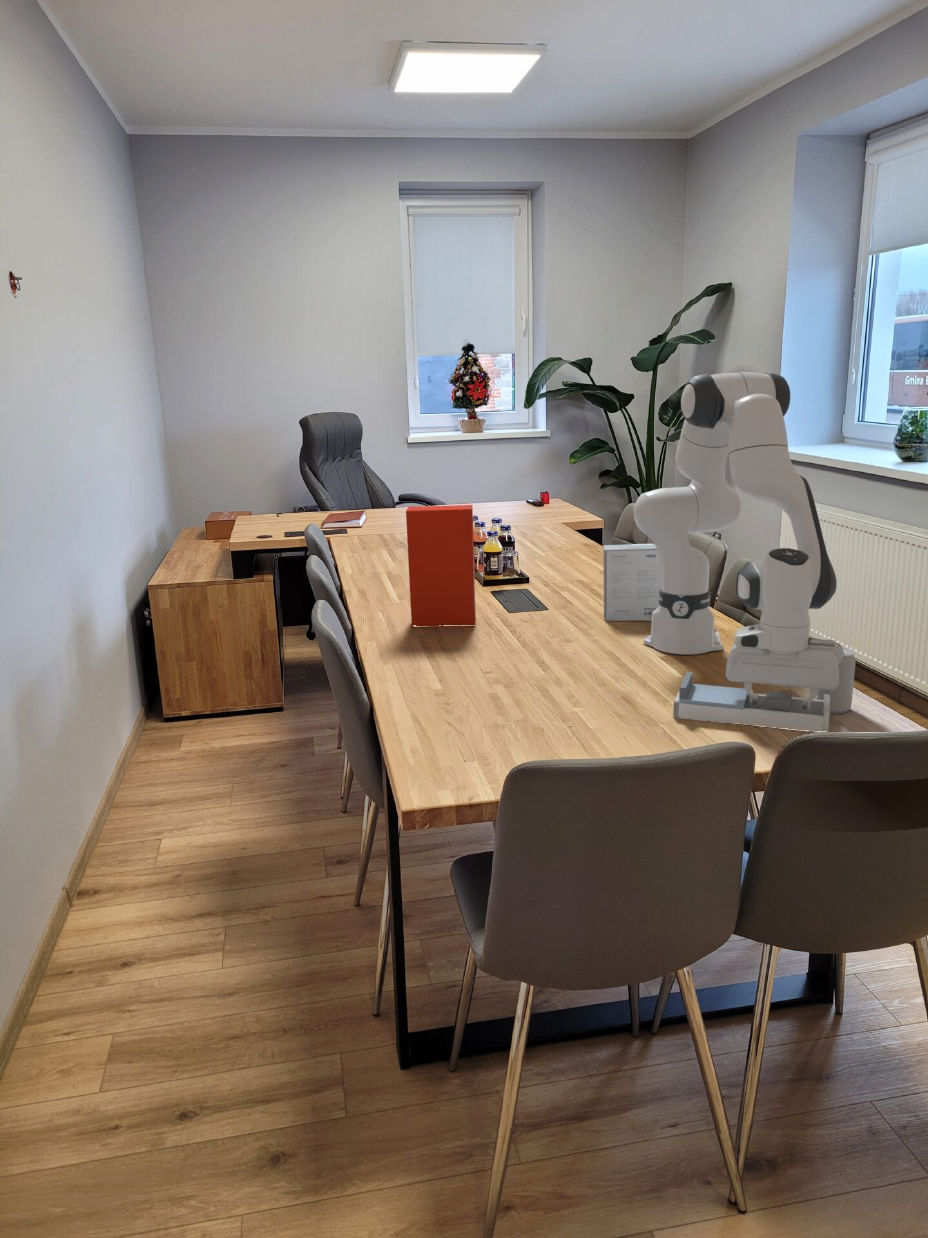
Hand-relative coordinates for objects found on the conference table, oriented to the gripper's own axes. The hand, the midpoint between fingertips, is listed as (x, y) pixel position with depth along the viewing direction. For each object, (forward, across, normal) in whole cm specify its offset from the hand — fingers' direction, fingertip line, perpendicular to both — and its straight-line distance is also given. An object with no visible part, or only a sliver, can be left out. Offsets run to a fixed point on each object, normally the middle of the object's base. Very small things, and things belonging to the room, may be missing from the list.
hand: (779, 706), depth 168 cm
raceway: (+3, +5, 0) cm, 6 cm away
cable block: (+3, 0, 0) cm, 3 cm away
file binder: (+2, +89, -46) cm, 101 cm away
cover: (0, +12, 0) cm, 12 cm away
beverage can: (+3, -10, -9) cm, 14 cm away
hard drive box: (+2, +41, -65) cm, 77 cm away
